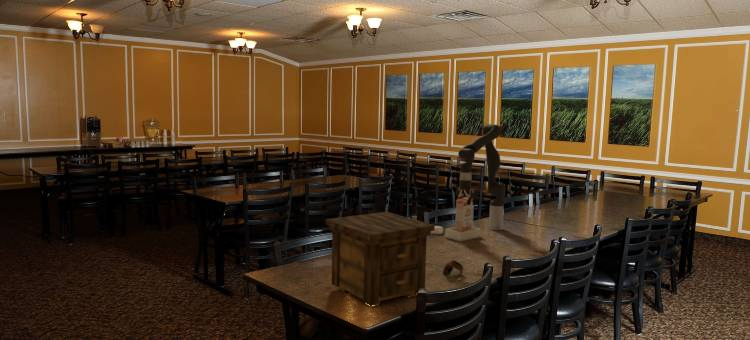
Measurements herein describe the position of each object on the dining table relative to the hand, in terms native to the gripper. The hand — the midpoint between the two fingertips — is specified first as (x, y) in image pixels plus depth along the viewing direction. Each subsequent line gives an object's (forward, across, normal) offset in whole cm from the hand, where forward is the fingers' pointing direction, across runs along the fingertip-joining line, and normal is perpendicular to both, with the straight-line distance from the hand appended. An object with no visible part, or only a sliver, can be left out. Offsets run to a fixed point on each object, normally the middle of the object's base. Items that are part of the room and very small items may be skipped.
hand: (464, 204), depth 343 cm
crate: (+22, -47, +112) cm, 124 cm away
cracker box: (+17, 0, 0) cm, 17 cm away
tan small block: (+22, +19, +5) cm, 30 cm away
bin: (+22, 0, 0) cm, 22 cm away
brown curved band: (+23, -49, +65) cm, 85 cm away
